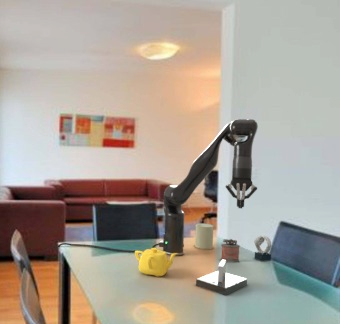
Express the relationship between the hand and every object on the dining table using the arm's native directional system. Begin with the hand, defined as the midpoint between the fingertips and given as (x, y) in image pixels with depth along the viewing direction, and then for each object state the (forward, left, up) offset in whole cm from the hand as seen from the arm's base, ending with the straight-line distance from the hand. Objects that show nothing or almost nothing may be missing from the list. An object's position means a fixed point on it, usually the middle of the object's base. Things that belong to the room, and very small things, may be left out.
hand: (240, 208), depth 162 cm
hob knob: (-5, -21, -24) cm, 33 cm away
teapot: (-31, -19, -27) cm, 45 cm away
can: (-18, +35, -27) cm, 48 cm away
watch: (+10, +25, -27) cm, 38 cm away
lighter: (-4, +15, -27) cm, 31 cm away
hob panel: (-5, -21, -27) cm, 35 cm away
